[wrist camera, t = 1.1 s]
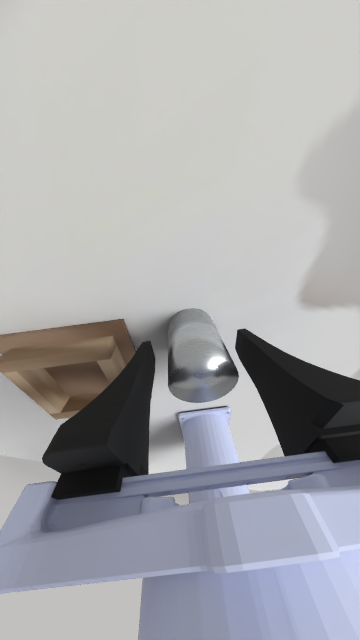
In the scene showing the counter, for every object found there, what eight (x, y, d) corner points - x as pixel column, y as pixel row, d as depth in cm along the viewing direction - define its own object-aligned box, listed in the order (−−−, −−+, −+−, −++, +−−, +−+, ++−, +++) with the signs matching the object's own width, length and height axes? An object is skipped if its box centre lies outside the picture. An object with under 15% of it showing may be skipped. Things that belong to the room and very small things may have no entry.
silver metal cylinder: (212, 342, 15) (235, 398, 10) (171, 348, 15) (173, 406, 10) (213, 305, 13) (242, 352, 8) (164, 311, 13) (162, 362, 8)
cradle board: (151, 391, 20) (149, 413, 17) (65, 402, 20) (51, 426, 17) (124, 316, 13) (115, 334, 11) (-3, 332, 13) (-40, 354, 11)
